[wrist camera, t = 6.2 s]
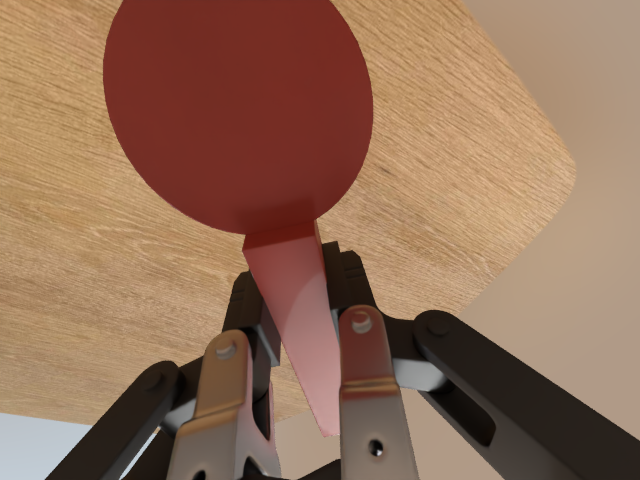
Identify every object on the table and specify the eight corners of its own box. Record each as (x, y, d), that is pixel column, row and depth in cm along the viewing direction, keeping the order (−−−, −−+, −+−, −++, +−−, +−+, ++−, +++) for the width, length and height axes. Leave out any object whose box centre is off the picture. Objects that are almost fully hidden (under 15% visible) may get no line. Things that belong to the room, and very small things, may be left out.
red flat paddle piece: (387, 377, 17) (401, 423, 15) (286, 396, 18) (285, 444, 15) (344, -60, 7) (369, -113, 4) (85, 4, 7) (-10, -18, 5)
